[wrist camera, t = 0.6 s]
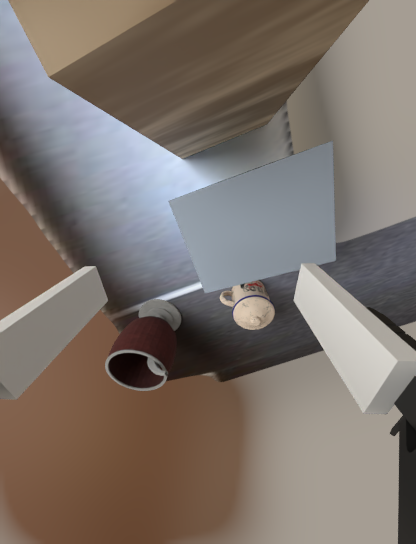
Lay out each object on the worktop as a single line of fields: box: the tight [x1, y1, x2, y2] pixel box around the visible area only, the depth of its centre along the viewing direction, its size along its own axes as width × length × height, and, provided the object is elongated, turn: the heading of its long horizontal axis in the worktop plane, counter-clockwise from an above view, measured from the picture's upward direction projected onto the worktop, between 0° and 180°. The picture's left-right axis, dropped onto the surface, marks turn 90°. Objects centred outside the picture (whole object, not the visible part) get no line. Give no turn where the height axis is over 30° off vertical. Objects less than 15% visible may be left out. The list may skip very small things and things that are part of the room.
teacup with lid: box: [220, 280, 275, 330], centre depth 41 cm, size 12×9×12 cm
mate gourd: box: [105, 299, 181, 391], centre depth 43 cm, size 16×14×20 cm
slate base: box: [169, 141, 336, 293], centre depth 29 cm, size 12×16×20 cm
